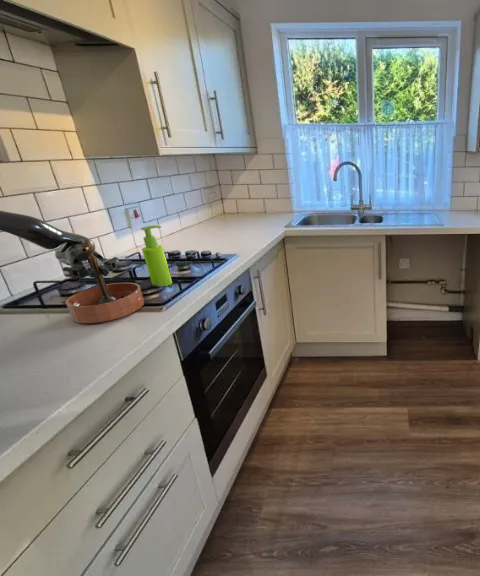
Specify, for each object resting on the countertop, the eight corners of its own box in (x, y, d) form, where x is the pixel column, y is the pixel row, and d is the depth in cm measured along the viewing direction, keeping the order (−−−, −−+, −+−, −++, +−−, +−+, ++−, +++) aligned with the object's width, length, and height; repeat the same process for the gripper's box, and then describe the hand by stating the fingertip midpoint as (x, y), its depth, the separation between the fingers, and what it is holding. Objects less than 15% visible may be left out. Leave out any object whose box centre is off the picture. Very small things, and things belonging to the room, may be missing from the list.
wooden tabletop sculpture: (115, 310, 101) (92, 241, 93) (95, 313, 100) (70, 243, 92) (120, 302, 106) (99, 236, 98) (102, 304, 105) (78, 237, 97)
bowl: (79, 331, 94) (72, 312, 92) (67, 312, 105) (60, 295, 102) (153, 309, 105) (147, 292, 103) (135, 294, 116) (130, 278, 114)
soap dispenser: (178, 282, 125) (163, 225, 117) (156, 289, 120) (139, 229, 112) (171, 279, 128) (156, 223, 120) (150, 284, 123) (133, 227, 116)
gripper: (51, 253, 102) (62, 267, 91) (109, 243, 111) (125, 254, 100) (61, 278, 105) (73, 294, 94) (116, 266, 114) (133, 279, 103)
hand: (100, 273), depth 97 cm, fingers closed on wooden tabletop sculpture, 1 cm apart
